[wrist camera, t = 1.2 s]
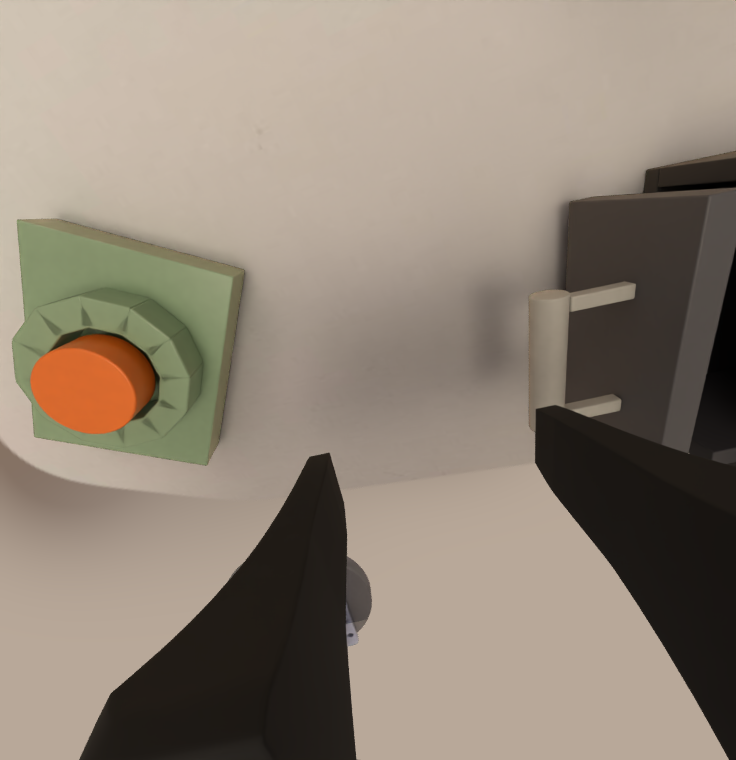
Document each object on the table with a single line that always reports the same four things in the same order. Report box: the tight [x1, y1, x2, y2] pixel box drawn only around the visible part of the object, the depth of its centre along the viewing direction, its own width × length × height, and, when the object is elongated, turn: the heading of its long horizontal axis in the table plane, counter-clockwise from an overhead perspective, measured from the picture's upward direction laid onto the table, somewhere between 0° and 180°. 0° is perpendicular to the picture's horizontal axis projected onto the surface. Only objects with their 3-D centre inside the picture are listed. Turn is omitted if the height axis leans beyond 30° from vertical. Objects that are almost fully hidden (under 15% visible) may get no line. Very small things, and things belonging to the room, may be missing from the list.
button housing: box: [12, 219, 245, 466], centre depth 17 cm, size 10×8×4 cm
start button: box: [30, 334, 155, 434], centre depth 14 cm, size 4×4×2 cm
